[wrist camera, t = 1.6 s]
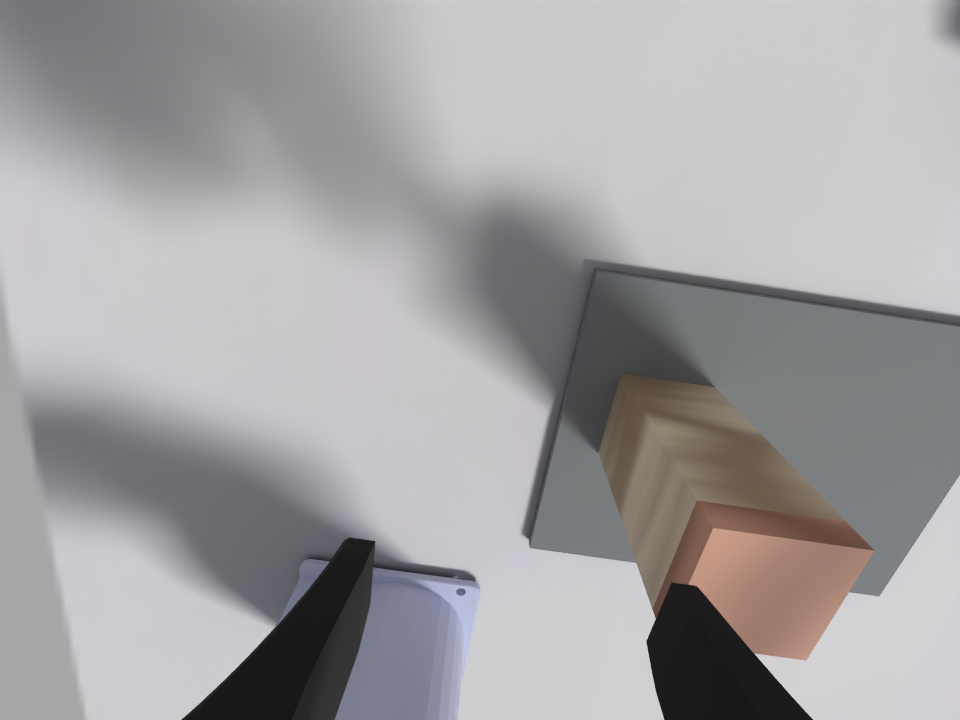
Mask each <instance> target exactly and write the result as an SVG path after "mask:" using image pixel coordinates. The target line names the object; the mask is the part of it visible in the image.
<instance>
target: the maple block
mask: <svg viewBox="0 0 960 720" xmlns="http://www.w3.org/2000/svg"><path fill="white" fill-rule="evenodd" d="M598 454H599V457H600V460H601V463H602V465H603V468H604V471H605V474H606V477H607V480H608V483H609V485H610V488H611V491H612V494H613V497H614V500H615V503H616V506H617V508H618V511H619V514H620V517H621V520H622V523H623V526H624V528H625V531H626V534H627V537H628V540H629V543H630V546H631V549H632V551H633V554H634V557H635V560H636V563H637V566H638V569H639V572H640V574H641V577H642V580H643V583H644V586H645V589H646V592H647V594H648V597H649V600H650V603H651V606H652V609H653V612H654V615H655V617H656V618H657V615H658V613H659V611H660V608H661V606H662V604H663V601H664V599H665V596H666V594H667V592H668V589H669V587H670V585H671V582H672V583H679V584H687V585H694V586H697V587H698V588H699V589H700V590H701V591H702V592H703V594H704V595H705V596H706V597H707V598H708V599H709V601H710V602H711V603H712V604H713V605H714V606H715V608H716V609H717V610H718V611H719V612H720V614H721V615H722V616H723V617H724V618H725V620H726V621H727V622H728V623H729V624H730V626H731V627H732V628H733V629H734V630H735V632H736V633H737V634H738V635H739V636H740V638H741V639H742V640H743V641H744V642H745V643H746V645H747V646H748V647H749V648H750V649H751V651H752V652H753V653H756V654H763V655H770V656H778V657H785V658H793V659H800V660H807V658H808V657H809V655H810V653H811V652H812V650H813V649H814V647H815V645H816V644H817V642H818V641H819V639H820V637H821V636H822V634H823V633H824V631H825V629H826V628H827V626H828V625H829V623H830V621H831V620H832V618H833V617H834V615H835V613H836V612H837V610H838V609H839V607H840V605H841V604H842V602H843V601H844V599H845V597H846V596H847V594H848V593H849V591H850V589H851V588H852V586H853V585H854V583H855V581H856V580H857V578H858V577H859V575H860V573H861V572H862V570H863V569H864V567H865V565H866V564H867V562H868V561H869V559H870V557H871V556H872V554H873V553H874V550H873V548H872V547H871V546H870V545H869V544H868V543H867V542H866V541H865V540H864V539H863V538H862V537H861V536H860V535H859V534H858V533H857V532H856V531H855V530H854V529H853V528H852V527H851V526H850V525H849V524H848V523H847V522H846V521H845V520H844V519H843V518H842V517H841V516H840V515H839V514H838V513H837V512H836V511H835V510H834V508H833V507H832V506H831V505H830V504H829V503H828V502H827V501H826V500H825V499H824V498H823V497H822V496H821V495H820V494H819V493H818V492H817V491H816V490H815V489H814V488H813V487H812V486H811V485H810V484H809V483H808V482H807V481H806V480H805V479H804V478H803V477H802V476H801V475H800V474H799V473H798V472H797V471H796V470H795V468H794V467H793V466H792V465H791V464H790V463H789V462H788V461H787V460H786V459H785V458H784V457H783V456H782V455H781V454H780V453H779V452H778V451H777V450H776V449H775V448H774V447H773V446H772V445H771V444H770V443H769V442H768V441H767V440H766V439H765V438H764V437H763V436H762V435H761V434H760V433H759V432H758V431H757V430H756V428H755V427H754V426H753V425H752V424H751V423H750V422H749V421H748V420H747V419H746V418H745V417H744V416H743V415H742V414H741V413H740V412H739V411H738V410H737V409H736V408H735V407H734V406H733V405H732V404H731V403H730V402H729V401H728V400H727V399H726V398H725V397H724V396H723V395H722V394H721V393H720V392H719V391H718V390H717V388H716V387H711V386H704V385H697V384H691V383H684V382H677V381H670V380H664V379H657V378H650V377H643V376H637V375H630V374H623V373H621V377H620V380H619V384H618V387H617V390H616V394H615V397H614V401H613V404H612V408H611V411H610V415H609V418H608V421H607V425H606V428H605V432H604V435H603V439H602V442H601V446H600V449H599V452H598Z"/></svg>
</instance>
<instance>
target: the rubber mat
mask: <svg viewBox="0 0 960 720" xmlns="http://www.w3.org/2000/svg"><path fill="white" fill-rule="evenodd" d="M621 373H623V374H630V375H637V376H643V377H650V378H657V379H664V380H670V381H677V382H684V383H691V384H697V385H704V386H711V387H716V388H717V390H718V391H719V392H720V393H721V394H722V395H723V396H724V397H725V398H726V399H727V400H728V401H729V402H730V403H731V404H732V405H733V406H734V407H735V408H736V409H737V410H738V411H739V412H740V413H741V414H742V415H743V416H744V417H745V418H746V419H747V420H748V421H749V422H750V423H751V424H752V425H753V426H754V427H755V428H756V430H757V431H758V432H759V433H760V434H761V435H762V436H763V437H764V438H765V439H766V440H767V441H768V442H769V443H770V444H771V445H772V446H773V447H774V448H775V449H776V450H777V451H778V452H779V453H780V454H781V455H782V456H783V457H784V458H785V459H786V460H787V461H788V462H789V463H790V464H791V465H792V466H793V467H794V468H795V470H796V471H797V472H798V473H799V474H800V475H801V476H802V477H803V478H804V479H805V480H806V481H807V482H808V483H809V484H810V485H811V486H812V487H813V488H814V489H815V490H816V491H817V492H818V493H819V494H820V495H821V496H822V497H823V498H824V499H825V500H826V501H827V502H828V503H829V504H830V505H831V506H832V507H833V508H834V510H835V511H836V512H837V513H838V514H839V515H840V516H841V517H842V518H843V519H844V520H845V521H846V522H847V523H848V524H849V525H850V526H851V527H852V528H853V529H854V530H855V531H856V532H857V533H858V534H859V535H860V536H861V537H862V538H863V539H864V540H865V541H866V542H867V543H868V544H869V545H870V546H871V547H872V548H873V550H874V553H873V554H872V556H871V557H870V559H869V561H868V562H867V564H866V565H865V567H864V569H863V570H862V572H861V573H860V575H859V577H858V578H857V580H856V581H855V583H854V585H853V586H852V588H851V589H850V591H849V592H852V593H859V594H867V595H874V596H880V594H881V593H882V591H883V590H884V588H885V587H886V585H887V584H888V582H889V581H890V579H891V578H892V576H893V575H894V573H895V572H896V570H897V569H898V567H899V566H900V564H901V563H902V561H903V560H904V558H905V557H906V555H907V554H908V552H909V551H910V549H911V548H912V546H913V545H914V543H915V542H916V540H917V539H918V537H919V536H920V534H921V532H922V531H923V529H924V528H925V526H926V525H927V523H928V522H929V520H930V519H931V517H932V516H933V514H934V513H935V511H936V510H937V508H938V507H939V505H940V504H941V502H942V501H943V499H944V498H945V496H946V495H947V493H948V492H949V490H950V489H951V487H952V486H953V484H954V483H955V481H956V480H957V478H958V477H959V475H960V325H957V324H950V323H944V322H937V321H931V320H924V319H918V318H911V317H905V316H898V315H892V314H885V313H879V312H872V311H866V310H859V309H853V308H846V307H840V306H833V305H827V304H820V303H814V302H807V301H801V300H794V299H788V298H781V297H775V296H768V295H762V294H755V293H748V292H742V291H735V290H729V289H722V288H716V287H709V286H703V285H696V284H690V283H683V282H677V281H670V280H664V279H657V278H651V277H644V276H638V275H631V274H625V273H618V272H612V271H605V270H599V269H595V271H594V275H593V279H592V283H591V287H590V292H589V296H588V300H587V304H586V308H585V312H584V316H583V320H582V324H581V329H580V333H579V337H578V341H577V345H576V349H575V353H574V357H573V362H572V366H571V370H570V374H569V378H568V382H567V386H566V390H565V395H564V399H563V403H562V407H561V411H560V415H559V419H558V423H557V428H556V432H555V436H554V440H553V444H552V448H551V452H550V456H549V460H548V465H547V469H546V473H545V477H544V481H543V485H542V489H541V493H540V498H539V502H538V506H537V510H536V514H535V518H534V522H533V526H532V531H531V535H530V539H529V546H530V548H534V549H541V550H548V551H555V552H563V553H570V554H577V555H584V556H591V557H599V558H606V559H613V560H620V561H628V562H635V563H636V560H635V557H634V554H633V551H632V549H631V546H630V543H629V540H628V537H627V534H626V531H625V528H624V526H623V523H622V520H621V517H620V514H619V511H618V508H617V506H616V503H615V500H614V497H613V494H612V491H611V488H610V485H609V483H608V480H607V477H606V474H605V471H604V468H603V465H602V463H601V460H600V457H599V454H598V452H599V449H600V446H601V442H602V439H603V435H604V432H605V428H606V425H607V421H608V418H609V415H610V411H611V408H612V404H613V401H614V397H615V394H616V390H617V387H618V384H619V380H620V377H621Z"/></svg>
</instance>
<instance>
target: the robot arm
mask: <svg viewBox="0 0 960 720" xmlns="http://www.w3.org/2000/svg"><path fill="white" fill-rule="evenodd" d="M374 550H375V541H370V540H363V539H355V538H348V539H346V540H344V542H343V543H342V545H341V546H340V548H339V549H338V551H337V552H336V553H335V555H334V556H333V558H332V559H331V560H330V561H322V560H315V559H306V560H304V561H303V562H302V564H301V566H300V568H299V580H298V582H297V584H296V586H295V588H294V590H293V592H292V595H291V597H290V599H289V601H288V603H287V605H286V607H285V609H284V611H283V613H282V615H281V618H280V620H279V622H278V624H277V626H276V627H275V628H274V629H273V630H272V632H271V633H270V634H269V635H268V636H267V637H266V638H265V639H264V640H263V641H262V642H261V643H260V644H259V646H258V647H257V648H256V649H255V650H254V651H253V652H252V653H251V654H250V655H249V656H248V657H247V658H246V659H245V660H244V661H243V662H242V663H241V664H240V665H239V666H238V667H237V668H236V669H235V670H234V671H233V672H232V673H231V674H230V675H229V676H228V677H227V678H226V679H225V680H224V681H223V682H222V683H221V684H220V685H219V686H218V687H217V688H216V689H215V690H214V691H213V692H212V693H210V694H209V695H208V696H207V697H206V698H205V699H204V700H203V701H202V702H201V703H200V704H199V705H198V706H196V707H195V708H194V709H193V710H192V711H191V712H190V713H189V714H187V715H186V716H185V717H184V718H183V719H182V720H458V711H459V696H460V683H461V682H462V680H463V675H464V670H465V665H466V660H467V655H468V650H469V645H470V640H471V635H472V630H473V625H474V620H475V615H476V611H477V606H478V601H479V596H480V586H479V584H478V583H476V582H474V581H469V580H462V579H455V578H447V577H440V576H433V575H425V574H418V573H411V572H403V571H396V570H388V569H381V568H374V567H373V563H374ZM459 588H462V589H459ZM647 647H648V652H649V658H650V663H651V669H652V674H653V679H654V684H655V688H656V693H657V696H658V699H659V703H660V706H661V709H662V713H663V716H664V719H665V720H813V719H812V718H811V717H810V716H809V715H808V714H807V713H806V712H805V711H804V710H803V708H802V707H801V706H800V705H799V704H798V703H797V702H796V701H795V700H794V699H793V697H792V696H791V695H790V694H789V693H788V692H787V691H786V690H785V689H784V687H783V686H782V685H781V684H780V683H779V682H778V681H777V680H776V678H775V677H774V676H773V675H772V674H771V673H770V672H769V670H768V669H767V668H766V667H765V666H764V665H763V663H762V662H761V661H760V660H759V659H758V658H757V656H756V655H755V654H754V653H753V652H752V651H751V649H750V648H749V647H748V646H747V645H746V643H745V642H744V641H743V640H742V639H741V638H740V636H739V635H738V634H737V633H736V632H735V630H734V629H733V628H732V627H731V626H730V624H729V623H728V622H727V621H726V620H725V618H724V617H723V616H722V615H721V614H720V612H719V611H718V610H717V609H716V608H715V606H714V605H713V604H712V603H711V602H710V601H709V599H708V598H707V597H706V596H705V595H704V594H703V592H702V591H701V590H700V589H699V588H698V587H697V586H694V585H687V584H679V583H672V582H671V585H670V587H669V589H668V592H667V594H666V596H665V599H664V601H663V604H662V606H661V608H660V611H659V613H658V615H657V618H656V620H655V623H654V625H653V627H652V630H651V632H650V634H649V637H648V639H647Z"/></svg>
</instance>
